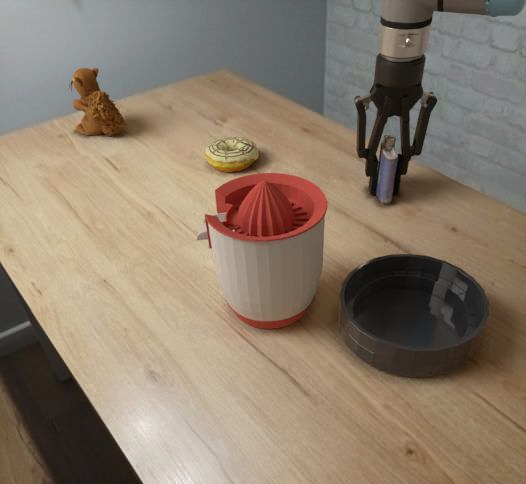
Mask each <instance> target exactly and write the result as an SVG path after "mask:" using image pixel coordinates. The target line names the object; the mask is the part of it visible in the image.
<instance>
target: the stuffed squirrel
mask: <svg viewBox="0 0 526 484" xmlns="http://www.w3.org/2000/svg"><path fill="white" fill-rule="evenodd" d="M98 74H99V68H98V67H92V68H88V67H81V68H78V69H76V70H75V71H74V72H73V75H72V79H71V80H70V83H69V86H68V91H71V92H72V91H73V88H72V86H73V87H74V89H75V91H76V92H77V93H78V95H79V96H80V98H78V99H73V101H72V108H73V109H74V110H75V111H82V112H83V113H84V115H83V117H82V118H81V119H80V123H78V124H77V125H76V126H75V131H76V132H78V133H79V134H82V135H85V136H97V135H103V134H104V135H105V136H107V137H114V136H115V135H118V134H121V133H122V132H123V131H124V130H125V128H126V127H125V126H126V125H127V123H125V121H124V117H123V115H122V114H121V112H120V110H119V108H117V106H116V104H115V102H114V100H112V99H110V93H107V92H106V91H104V90H102V91H101V88H100V85H99V82H98V80H97V78H98Z"/></svg>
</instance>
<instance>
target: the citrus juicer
mask: <svg viewBox="0 0 526 484" xmlns="http://www.w3.org/2000/svg"><path fill="white" fill-rule="evenodd" d="M214 195H215V205H216V213H214V214H207V213H206V214H205V213H204V220H203V223H202V225H201V228H200V229H199V231H198V233H197V236H196V241H205V240H207V242H208V248H209V250H210V249H211V252H212V258H213V265H214V271H215V273H216V274H215V275H216V279H217V282H218V284H219V287H220V289H221V292H222V294H223V296H224V298H225V300H226V302H227V305H228V306H229V308H230V309H231V310H232V312H233V313H234V314H235V316H236V317H237V318H238V319H239V320H240V321H242V322H244V323H245V324H247V325H249V326H252V327H255V328H258V329H259V328H260V329H278V328H279V329H280V328H283V327H286V326H289V325H292V324H294V323H296V322H297V321H299V320H300V319H302V317H303V316H305V314H306V313H307V312H308V310H309V308H310V307H311V305H312V303H313V302H314V299H315V296H316V293H317V290H318V288H319V284H320V281H321V276H322V273H323V264H324V247H325V246H324V244H325V242H324V241H325V221H326V220H325V219H326V217H325V216H326V213H327V211H328V199H327V197H326V194H325V193H324V191H323V190H322V189H321V188H320V187H319V186H317V184H315V183H314V182H312V181H310V180H308V179H306V178H304V177H300V176H297V175H293V174H290V173H289V174H288V173H282V172H281V173H279V172H261V173H252V174H248V175H243V176H239V177H237V178H233V179H231V180H229V181H226V182H224V183H223V184H221V185H220V186H218V187H216V188H215V189H214Z"/></svg>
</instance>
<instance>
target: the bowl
mask: <svg viewBox="0 0 526 484" xmlns="http://www.w3.org/2000/svg"><path fill="white" fill-rule="evenodd" d="M338 297H339V299H338V310H337V325H338V333H339V334H340V336H341V339H342V340H343V343H344V344H345V346H346V347H347V348H348V349H349V350H350V351H351V352H352V353H353V355H355V356H356V357H357V358H358V359H360V360H362V361H363V362H365V363H366V364H368V365H370V366H371V367H373V368H376V369H378V370H381V371H382V372H386V373H389V374H392V375H397V376H403V377H408V378H409V377H410V378H417V377H418V378H419V377H420V378H421V377H422V378H423V377H434V376H439V375H443V374H446V373H450V372H453V371H454V370H456V369H458V368H459V367H461V366H464V365H465V364H466V362H468V361H469V360H470V358H472V357H473V355H475V353H476V351H477V348H478V347H479V344H480V341H481V339H482V336H483V333H484V330H485V329H486V326H487V322H488V321H489V317H490V301H489V299H488V296H487V294H486V292H485V290H484V288H483V287H482V286H481V284H480V283H479V282H478V281H477V280H476V279H475V277H473V276H472V275H471V274H470V273H468V272H467V271H465V270H463V268H461V267H459V266H457V265H455V264H452V263H450V262H448V261H446V260H444V259H440V258H436V257H433V256H429V255H423V254H415V253H393V254H387V255H382V256H377V257H374V258H372V259H371V258H370V259H369V260H367V261H365V262H362V263H360V264H359V265H358V266H356V267H355V268H354V269H351V270H350V272H349V273H348V274H347V276H346V277H345V278H344V280H343V281H342V283H341V286H340V291H339V296H338Z"/></svg>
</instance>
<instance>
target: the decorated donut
mask: <svg viewBox="0 0 526 484" xmlns="http://www.w3.org/2000/svg"><path fill="white" fill-rule="evenodd" d="M204 152H205V160H206V162H208V164H209V165H210V166H211V167H212V169H215V170H217V171H220V172H224V173H231V172H232V173H233V172H240V171H242V170H246V169H247V168H248V167H250V166H251V165H252V164H253V163H254V162H255V161H256V160H258V159H259V156H260V154H259V148H258V146H257V144H256V142H254V141H252V140H250V139H249V138H247V137H244V136H235V137H231V136H229V137H224V138H221V139H217V140H215V141H212V142H211V143H210V144H209V145H207V146H206V149H205V151H204Z"/></svg>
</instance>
